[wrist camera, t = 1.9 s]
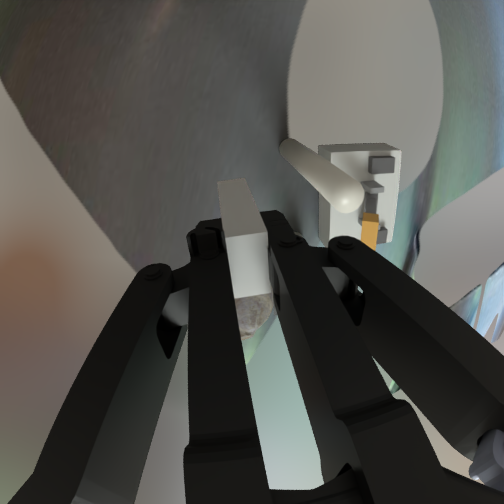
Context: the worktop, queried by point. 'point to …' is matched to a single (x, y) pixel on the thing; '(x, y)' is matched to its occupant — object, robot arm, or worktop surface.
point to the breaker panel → (372, 180)
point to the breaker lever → (370, 220)
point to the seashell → (253, 312)
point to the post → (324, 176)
